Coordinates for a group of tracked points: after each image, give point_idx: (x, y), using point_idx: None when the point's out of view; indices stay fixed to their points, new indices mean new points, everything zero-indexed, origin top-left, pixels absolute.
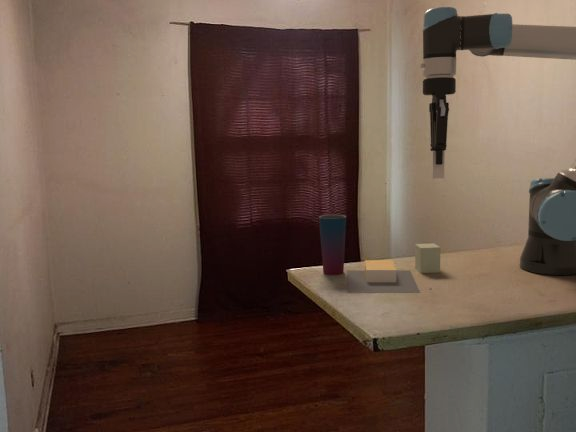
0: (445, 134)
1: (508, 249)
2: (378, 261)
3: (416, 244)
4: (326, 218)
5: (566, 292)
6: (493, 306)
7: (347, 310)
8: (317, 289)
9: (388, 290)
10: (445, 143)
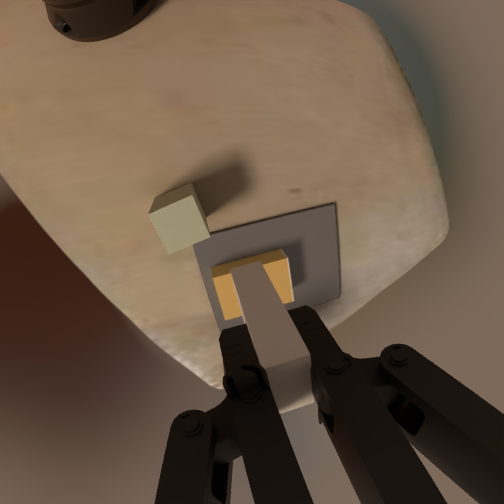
0: (475, 402)
1: None
2: (228, 298)
3: (171, 251)
4: (280, 414)
5: None
6: (368, 101)
7: (390, 277)
8: None
9: (327, 250)
10: (426, 363)
